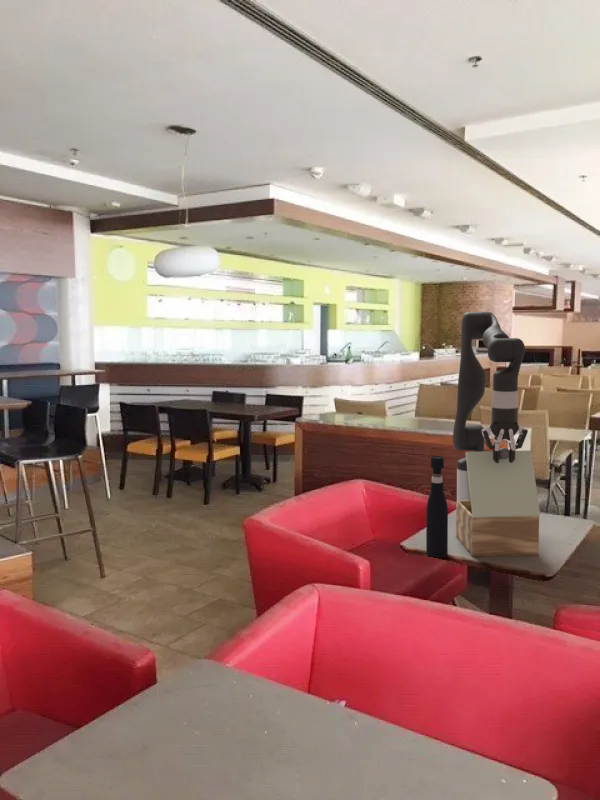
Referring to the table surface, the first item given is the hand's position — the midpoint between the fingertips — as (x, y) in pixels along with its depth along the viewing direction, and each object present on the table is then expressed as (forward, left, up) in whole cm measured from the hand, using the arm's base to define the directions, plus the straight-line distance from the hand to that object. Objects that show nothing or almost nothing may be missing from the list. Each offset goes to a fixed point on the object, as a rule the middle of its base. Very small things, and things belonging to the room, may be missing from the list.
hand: (503, 462), depth 207 cm
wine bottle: (0, -20, -28) cm, 35 cm away
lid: (-2, 0, -7) cm, 7 cm away
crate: (-7, 0, -28) cm, 29 cm away
